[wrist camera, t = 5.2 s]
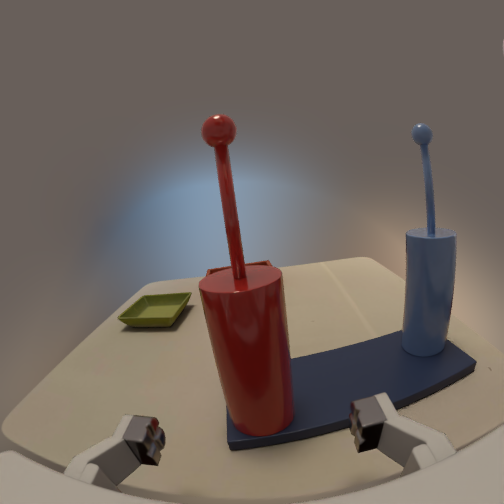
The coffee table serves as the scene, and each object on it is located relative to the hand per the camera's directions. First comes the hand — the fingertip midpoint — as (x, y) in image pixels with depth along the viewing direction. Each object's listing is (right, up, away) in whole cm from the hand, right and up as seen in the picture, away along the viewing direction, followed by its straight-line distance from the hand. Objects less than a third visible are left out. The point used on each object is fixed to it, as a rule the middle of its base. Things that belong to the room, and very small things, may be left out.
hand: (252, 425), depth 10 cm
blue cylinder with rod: (+15, -1, +11) cm, 19 cm away
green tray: (-13, -3, +28) cm, 31 cm away
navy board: (+8, -3, +10) cm, 13 cm away
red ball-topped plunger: (+1, -4, +7) cm, 8 cm away
